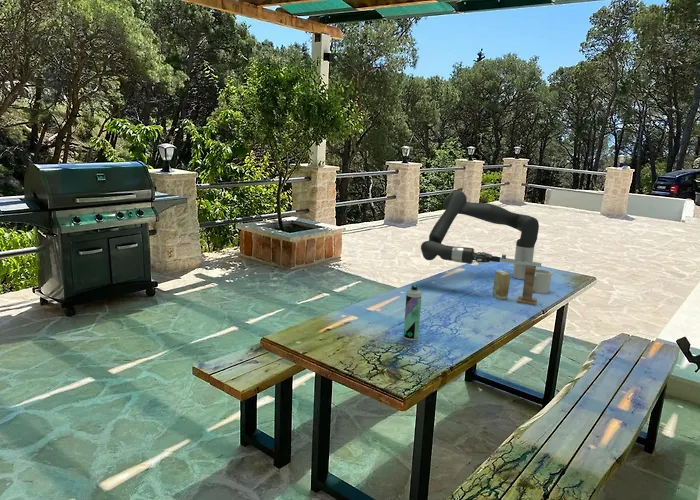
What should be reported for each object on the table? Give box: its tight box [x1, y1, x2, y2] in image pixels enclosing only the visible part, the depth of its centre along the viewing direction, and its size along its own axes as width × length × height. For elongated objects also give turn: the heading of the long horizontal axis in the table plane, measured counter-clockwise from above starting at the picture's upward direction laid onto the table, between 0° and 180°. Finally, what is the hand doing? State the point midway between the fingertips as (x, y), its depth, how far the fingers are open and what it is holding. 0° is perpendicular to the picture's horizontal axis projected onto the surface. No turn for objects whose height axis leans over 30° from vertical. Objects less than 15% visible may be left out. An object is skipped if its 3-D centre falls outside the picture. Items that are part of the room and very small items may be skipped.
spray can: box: [403, 284, 422, 342], centre depth 197 cm, size 6×6×20 cm
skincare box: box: [491, 270, 511, 301], centre depth 252 cm, size 6×4×12 cm
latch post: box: [516, 265, 538, 306], centre depth 247 cm, size 8×8×17 cm
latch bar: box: [499, 254, 542, 268], centre depth 246 cm, size 2×18×3 cm, turn 67°
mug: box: [533, 268, 552, 294], centre depth 265 cm, size 11×10×10 cm
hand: (500, 259), depth 250 cm, fingers closed
